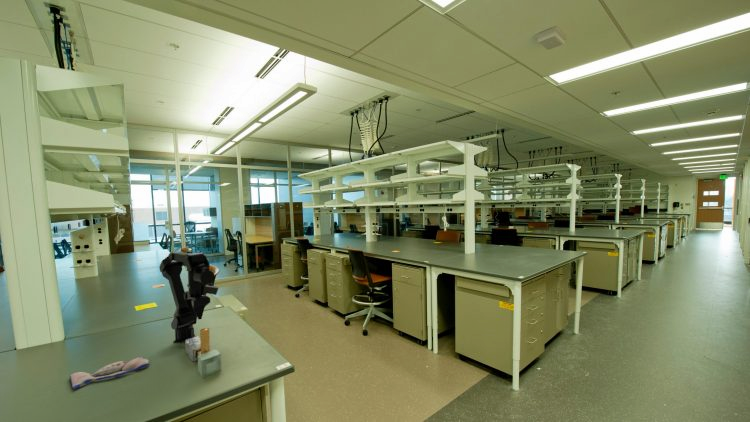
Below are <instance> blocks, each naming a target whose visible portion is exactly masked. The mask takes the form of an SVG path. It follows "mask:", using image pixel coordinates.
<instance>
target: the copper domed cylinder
mask: <svg viewBox="0 0 750 422" xmlns="http://www.w3.org/2000/svg"><path fill="white" fill-rule="evenodd" d="M199 337H200V345H201V349H199V350H196V356H197V357H198V355H201V354H203V353H206V352H209V351H211V348H210V347H211V345H210V344H211V342H210V328H208V327H204V328H201V329H200V330H199Z"/></svg>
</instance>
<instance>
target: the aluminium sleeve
mask: <svg viewBox="0 0 750 422" xmlns="http://www.w3.org/2000/svg"><path fill="white" fill-rule="evenodd" d="M184 349H185V350H184V351H185V353H186V354H187V356H188V357H189V359H190V360H191V361H192V362H196V361H197V362H198V357H197V356H196V350H199V349H201V345H200V335H196V336H194V337H193V338H190V339H187V340H185V342H184Z"/></svg>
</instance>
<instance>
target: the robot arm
mask: <svg viewBox="0 0 750 422" xmlns="http://www.w3.org/2000/svg"><path fill="white" fill-rule="evenodd" d="M184 266H185V267H186V271H187V281H188V282H187V284H186V286H187V288H188V290H187V291H185V288H184V284H183V281H182V279H181V274H182V271H183V267H184ZM210 267H211V265H210V262H209V260H208V258H207V255H206V254H205V253H204V252H203V251H202V252H194V253H189V252H185V251H184V252H183V251H182V250H180V251H179V250H178V251H171V252H169V254H168V255H167V256H166V257H165V258H164V259H162V260H161V262H160V264H159V271H160V272H161V275H162V277H164V278H165V279H166V280H167V281H168V283H169V287H170V290H171V293H172V297H173V298H172V299H173V301H174V305H175V310H174V311H175V312H174V313H173V319H172V321H171V323H170V326H171V329H172V330H174V334H175V335H174V337H175V338H174V340H173V343H174V344H175V343H185V340H187V339H190V338H194V337H196V334H195V327H194V325H196V324H197V320H202V318H203V315H204V312H205V308H206V306H208V305H210V303H211V298H210V297H209V296H208V295H207V294H209V295H213V296H216V295H217V294H218V291H219V287H218V286H216V285H214V283H212V282H213V281H214V280H215V274H214V272H213V271H212V270H210Z"/></svg>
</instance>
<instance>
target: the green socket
mask: <svg viewBox="0 0 750 422" xmlns="http://www.w3.org/2000/svg"><path fill="white" fill-rule="evenodd" d="M221 359H222V357H221V353H220V352H219V351H218V350H217V349H213V350H210V351H209V352H206V353H203V354H201V355H198V360H197V371H198V373H199V375H200V376H201V378H205V377H207V376H210V375H213V374H216V373H218V372H220V371H222V360H221Z"/></svg>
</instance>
